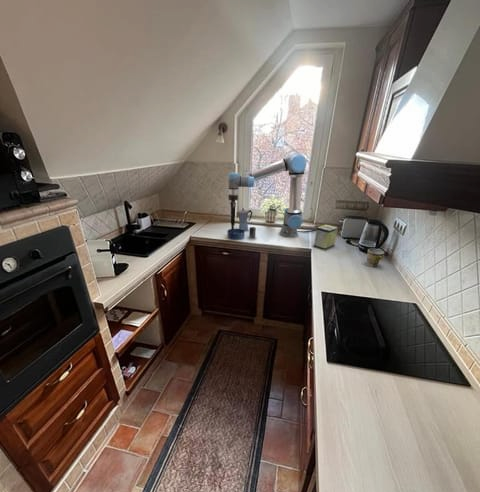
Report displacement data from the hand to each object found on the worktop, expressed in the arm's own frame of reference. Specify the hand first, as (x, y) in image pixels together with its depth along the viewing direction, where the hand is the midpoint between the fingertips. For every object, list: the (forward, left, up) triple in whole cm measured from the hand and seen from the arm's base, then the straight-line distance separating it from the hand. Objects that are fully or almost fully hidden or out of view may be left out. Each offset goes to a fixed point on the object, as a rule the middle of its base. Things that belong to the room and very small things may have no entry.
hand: (232, 224), depth 210 cm
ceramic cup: (-91, +62, -12) cm, 110 cm away
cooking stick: (0, 0, -9) cm, 9 cm away
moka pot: (-13, -20, -12) cm, 26 cm away
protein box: (-72, +24, -12) cm, 76 cm away
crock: (-17, +2, -12) cm, 20 cm away
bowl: (-3, +1, -12) cm, 12 cm away
